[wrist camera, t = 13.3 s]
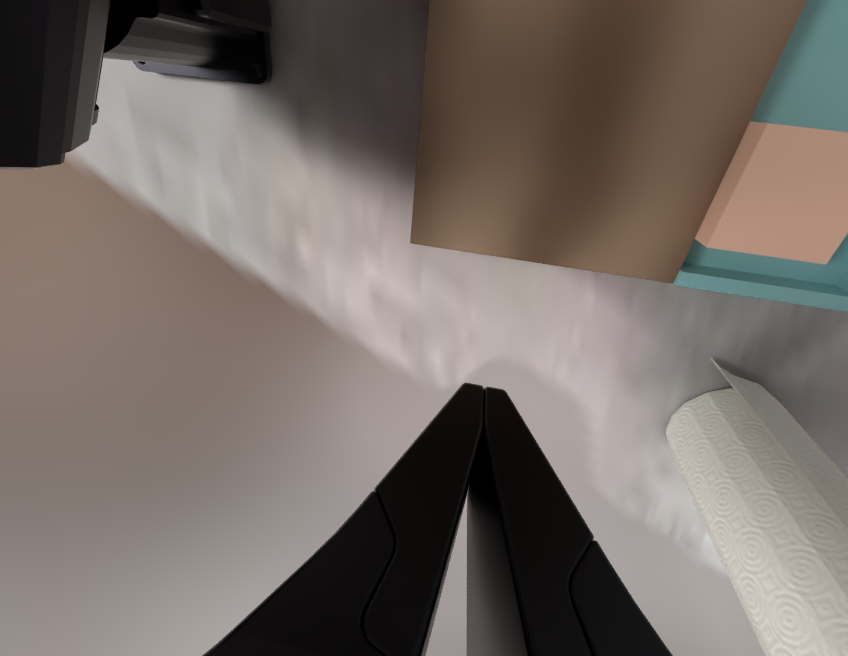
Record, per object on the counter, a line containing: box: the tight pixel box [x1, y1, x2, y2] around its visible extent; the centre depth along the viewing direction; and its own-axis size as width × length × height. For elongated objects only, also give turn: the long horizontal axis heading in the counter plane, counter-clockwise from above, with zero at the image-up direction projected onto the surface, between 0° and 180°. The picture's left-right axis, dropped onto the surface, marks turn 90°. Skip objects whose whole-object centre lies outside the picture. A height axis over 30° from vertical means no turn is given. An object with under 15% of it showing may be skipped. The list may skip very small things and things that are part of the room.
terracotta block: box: [695, 121, 848, 264], centre depth 14 cm, size 4×4×2 cm
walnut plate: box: [410, 0, 807, 283], centre depth 14 cm, size 11×16×3 cm
